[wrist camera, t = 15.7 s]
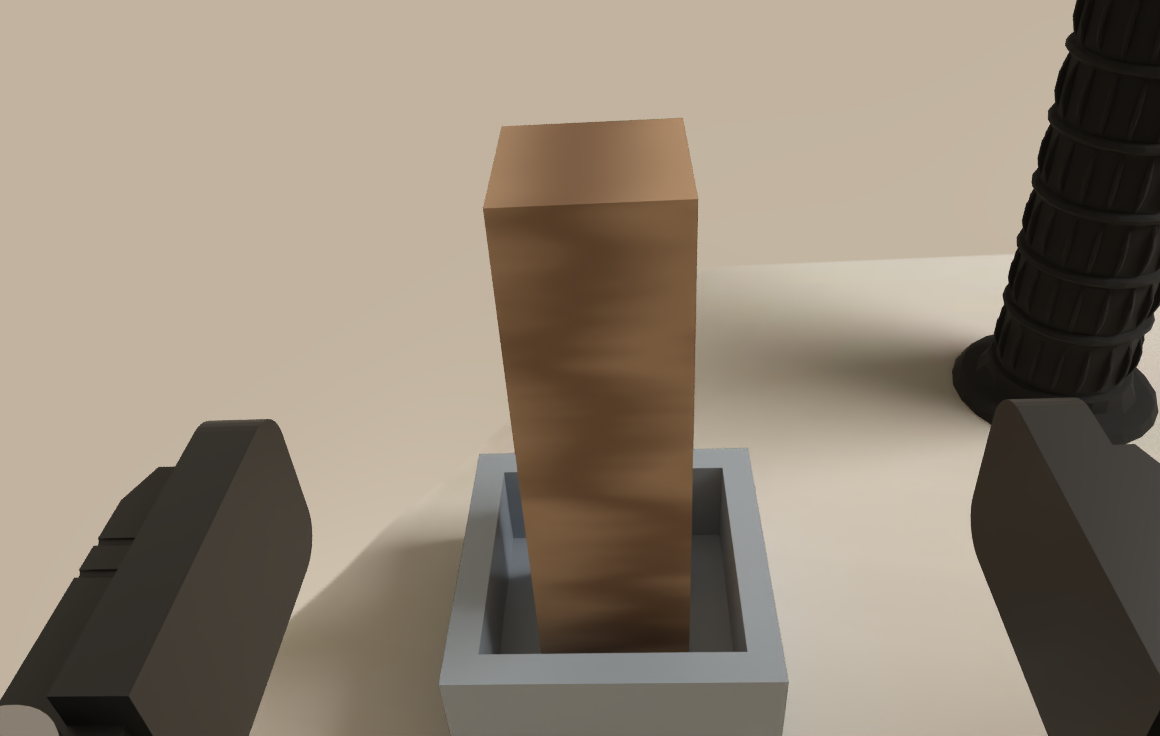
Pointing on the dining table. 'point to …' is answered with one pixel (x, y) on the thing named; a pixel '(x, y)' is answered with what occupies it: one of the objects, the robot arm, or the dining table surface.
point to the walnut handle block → (600, 373)
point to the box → (617, 680)
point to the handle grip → (1086, 236)
